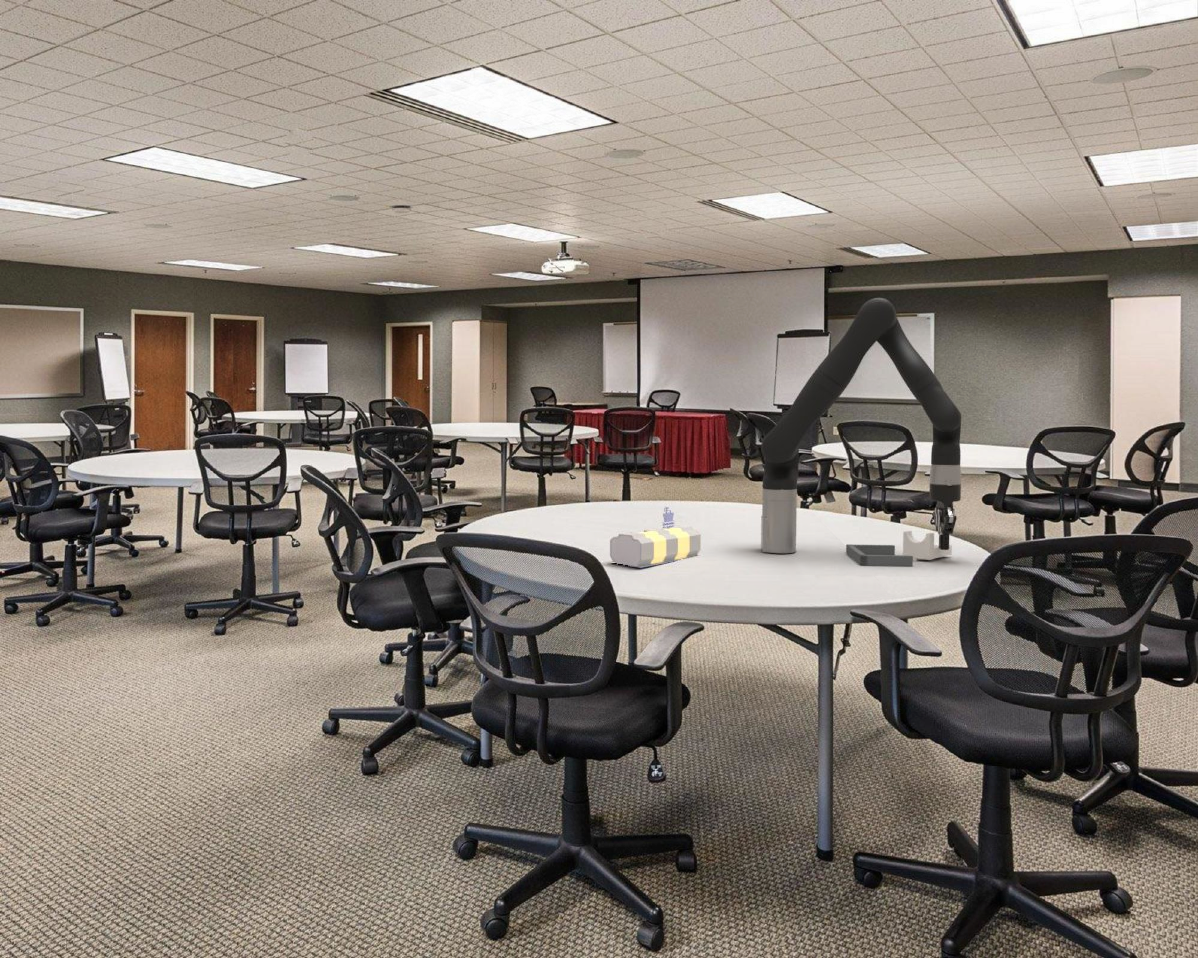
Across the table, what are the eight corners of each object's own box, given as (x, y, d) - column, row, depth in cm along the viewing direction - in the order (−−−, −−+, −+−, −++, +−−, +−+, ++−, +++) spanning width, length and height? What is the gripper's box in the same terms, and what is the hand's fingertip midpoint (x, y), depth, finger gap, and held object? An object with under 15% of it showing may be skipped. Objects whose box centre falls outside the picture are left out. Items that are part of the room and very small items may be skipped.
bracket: (929, 563, 231) (929, 533, 230) (902, 560, 236) (903, 531, 235) (951, 558, 240) (952, 529, 239) (925, 555, 245) (926, 527, 244)
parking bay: (860, 565, 225) (861, 555, 225) (846, 553, 246) (846, 544, 246) (912, 566, 224) (912, 556, 224) (893, 554, 245) (893, 545, 245)
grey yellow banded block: (670, 552, 249) (670, 505, 249) (700, 556, 242) (700, 508, 242) (610, 563, 231) (610, 512, 230) (641, 567, 224) (641, 515, 223)
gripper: (923, 480, 239) (922, 546, 240) (937, 484, 226) (935, 553, 227) (952, 480, 238) (951, 546, 239) (968, 484, 225) (966, 553, 226)
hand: (943, 549), depth 233 cm, fingers closed
